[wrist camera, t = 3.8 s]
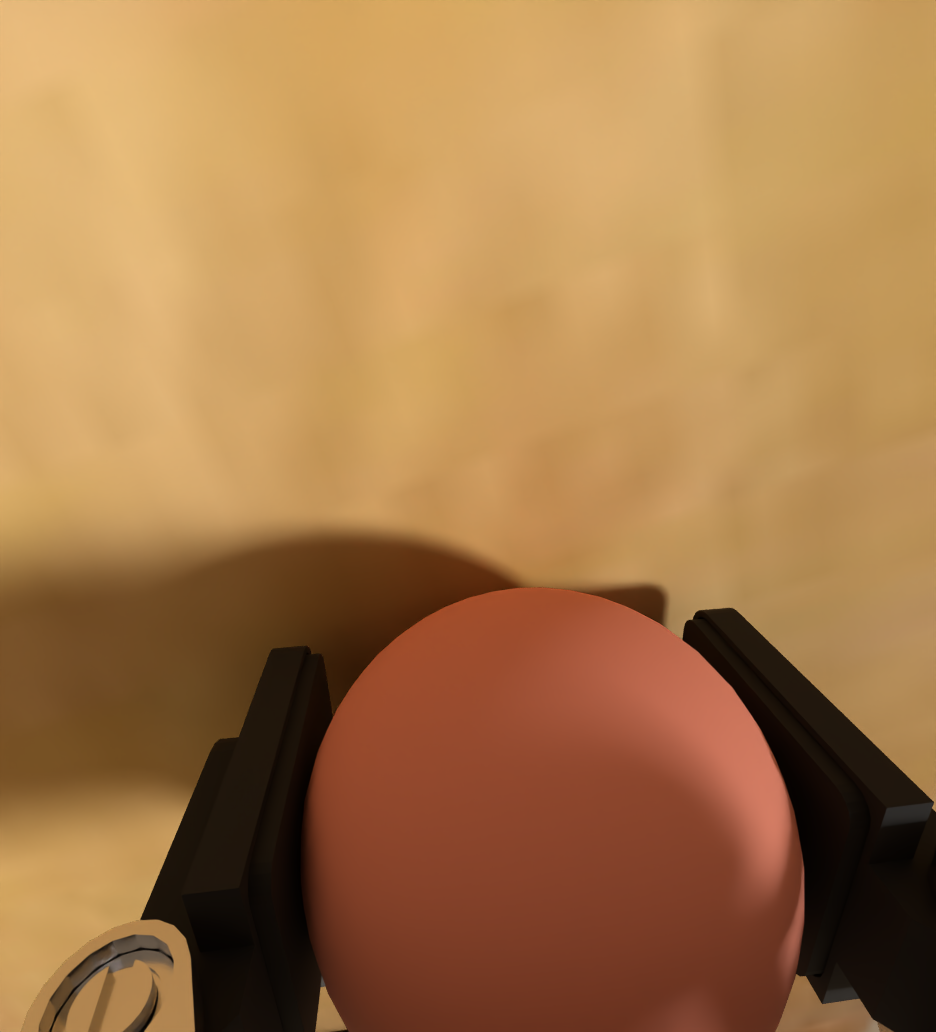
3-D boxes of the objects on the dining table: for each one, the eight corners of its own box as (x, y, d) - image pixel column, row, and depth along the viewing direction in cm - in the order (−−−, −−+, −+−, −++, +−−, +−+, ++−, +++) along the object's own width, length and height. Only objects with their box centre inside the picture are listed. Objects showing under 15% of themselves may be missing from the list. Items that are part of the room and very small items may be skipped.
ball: (309, 534, 9) (147, 950, 3) (680, 506, 9) (1086, 828, 4) (352, 814, 11) (299, 1342, 6) (649, 781, 12) (874, 1233, 6)
